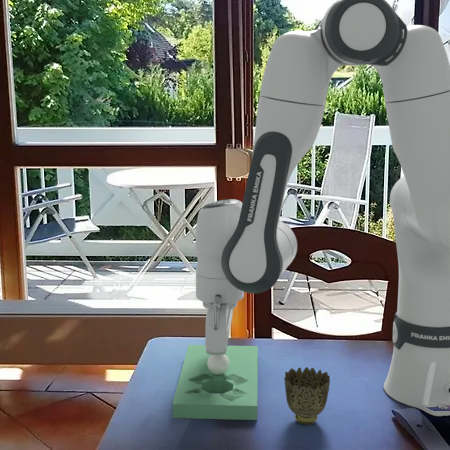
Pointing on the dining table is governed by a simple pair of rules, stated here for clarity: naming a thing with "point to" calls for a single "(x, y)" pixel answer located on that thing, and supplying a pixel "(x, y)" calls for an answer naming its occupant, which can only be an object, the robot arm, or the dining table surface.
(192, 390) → the putting mat
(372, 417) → the dining table surface
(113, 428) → the dining table surface
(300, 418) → the cup
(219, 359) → the ball
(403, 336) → the robot arm
